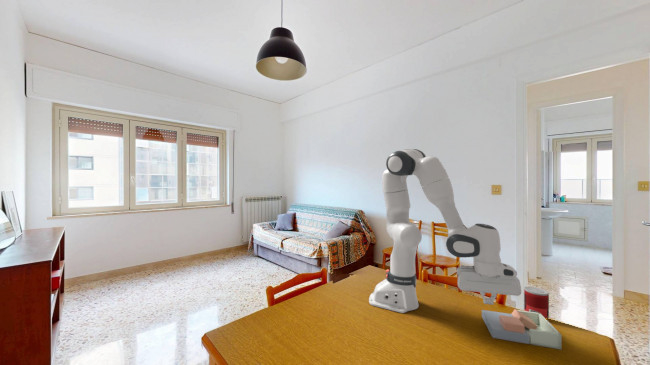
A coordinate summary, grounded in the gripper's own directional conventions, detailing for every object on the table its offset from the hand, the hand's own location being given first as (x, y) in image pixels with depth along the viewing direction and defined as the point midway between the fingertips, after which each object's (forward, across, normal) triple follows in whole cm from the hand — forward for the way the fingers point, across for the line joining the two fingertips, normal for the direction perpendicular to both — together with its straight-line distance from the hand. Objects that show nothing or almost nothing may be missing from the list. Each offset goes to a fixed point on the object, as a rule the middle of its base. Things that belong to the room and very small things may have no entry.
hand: (488, 303), depth 95 cm
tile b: (+8, +7, 0) cm, 11 cm away
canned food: (+12, +22, +20) cm, 32 cm away
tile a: (+9, +13, +7) cm, 17 cm away
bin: (+11, +16, +4) cm, 20 cm away
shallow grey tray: (+11, +6, +4) cm, 13 cm away
